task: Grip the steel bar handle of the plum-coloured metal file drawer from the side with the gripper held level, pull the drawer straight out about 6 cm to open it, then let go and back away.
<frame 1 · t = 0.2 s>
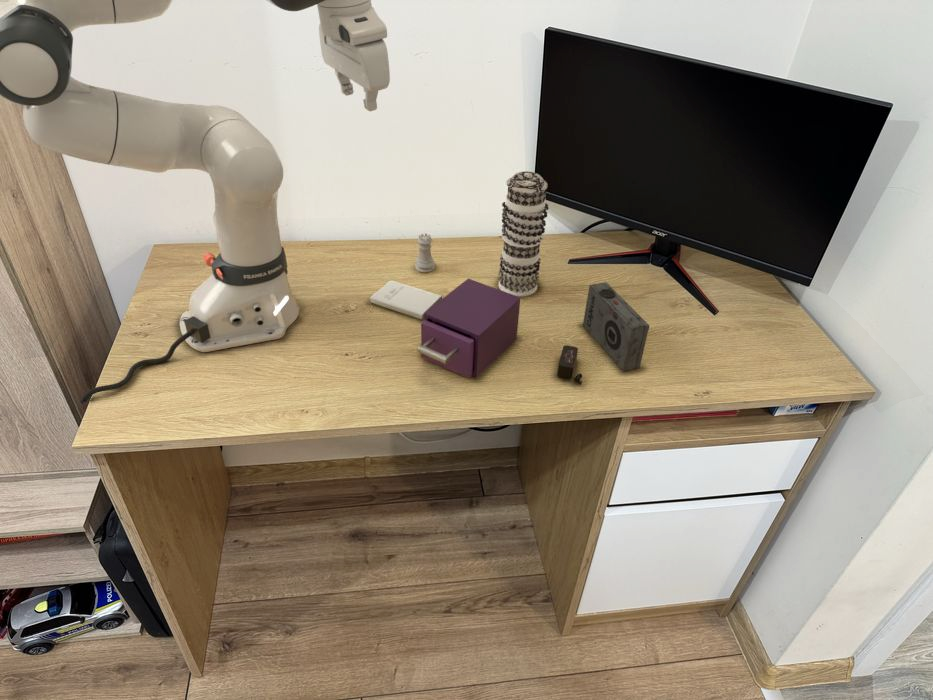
hand: (359, 101, 125), 39 cm above the table, tool pointing down, fingers open, 8 cm apart
decorative candle: (517, 286, 151), on the table
file cabinet: (471, 347, 133), on the table
drawer: (459, 338, 127), point 5 cm above the table, slide at 0.5 cm
rook chess piece: (424, 269, 156), on the table
wireless earbuds: (569, 374, 128), on the table
hard drive: (406, 303, 145), on the table
camera: (608, 346, 135), on the table
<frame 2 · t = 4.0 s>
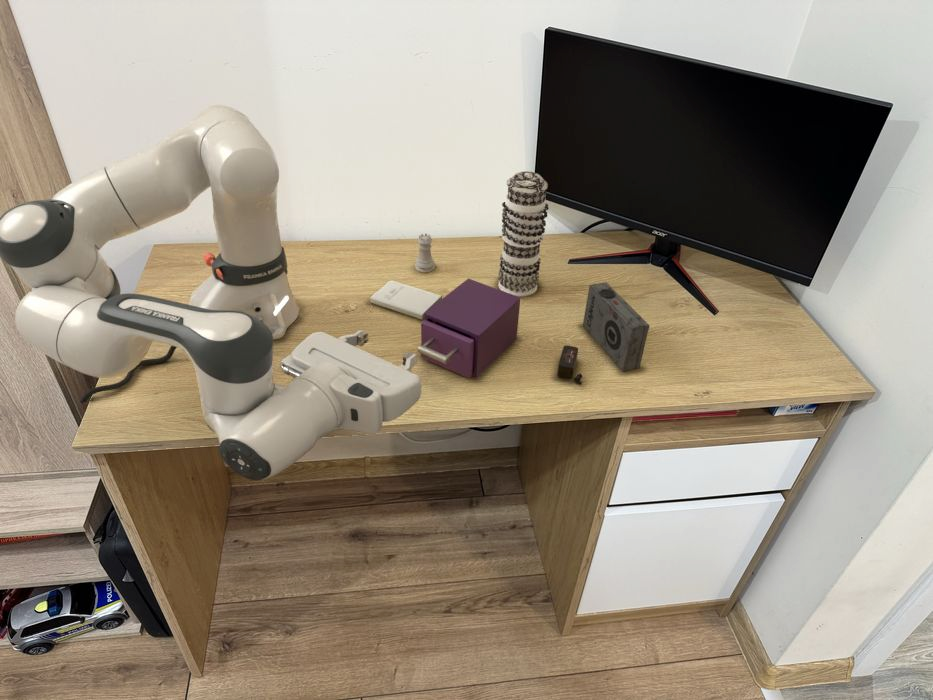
hand: (388, 345, 107), 15 cm above the table, tool horizontal, fingers open, 8 cm apart
nothing on the table moved.
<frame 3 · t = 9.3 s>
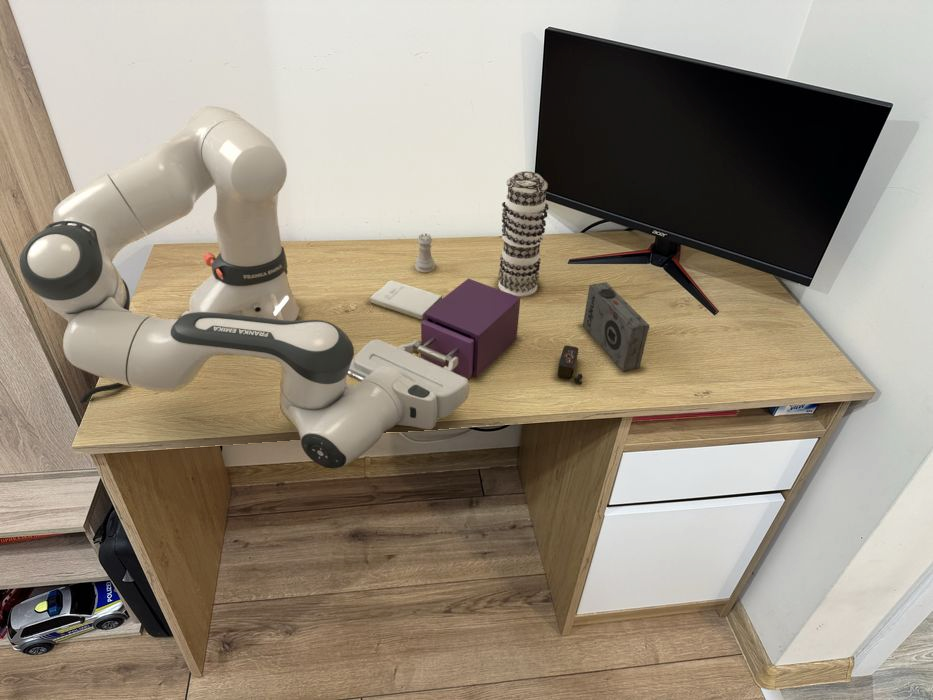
hand: (437, 351, 122), 6 cm above the table, tool horizontal, fingers closed on drawer, 6 cm apart
drawer: (459, 338, 127), point 5 cm above the table, slide at 0.5 cm, touching gripper
everything else where it was.
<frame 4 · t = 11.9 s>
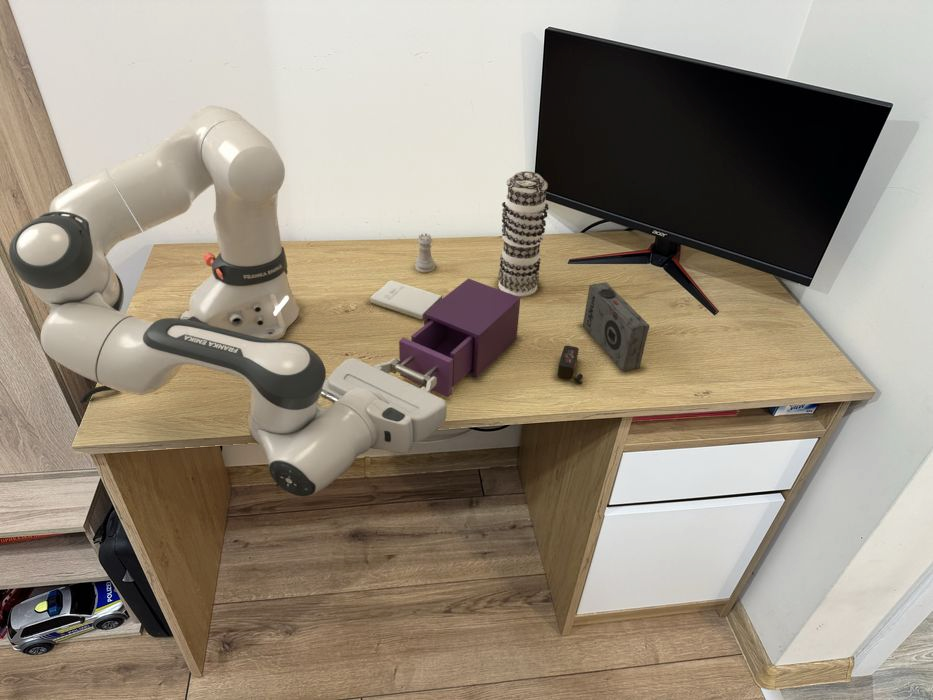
hand: (415, 370, 117), 6 cm above the table, tool horizontal, fingers closed on drawer, 6 cm apart
drawer: (439, 355, 123), point 5 cm above the table, slide at 6.9 cm, touching gripper
everything else where it was.
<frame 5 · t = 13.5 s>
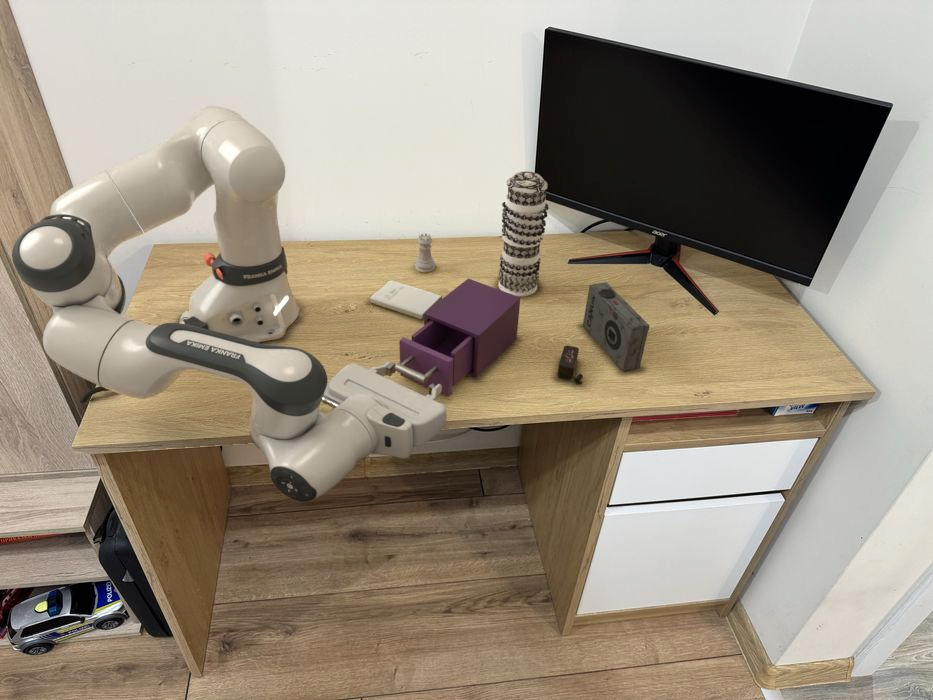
hand: (415, 375, 118), 5 cm above the table, tool horizontal, fingers open, 8 cm apart
drawer: (439, 355, 123), point 5 cm above the table, slide at 6.9 cm
everything else where it was.
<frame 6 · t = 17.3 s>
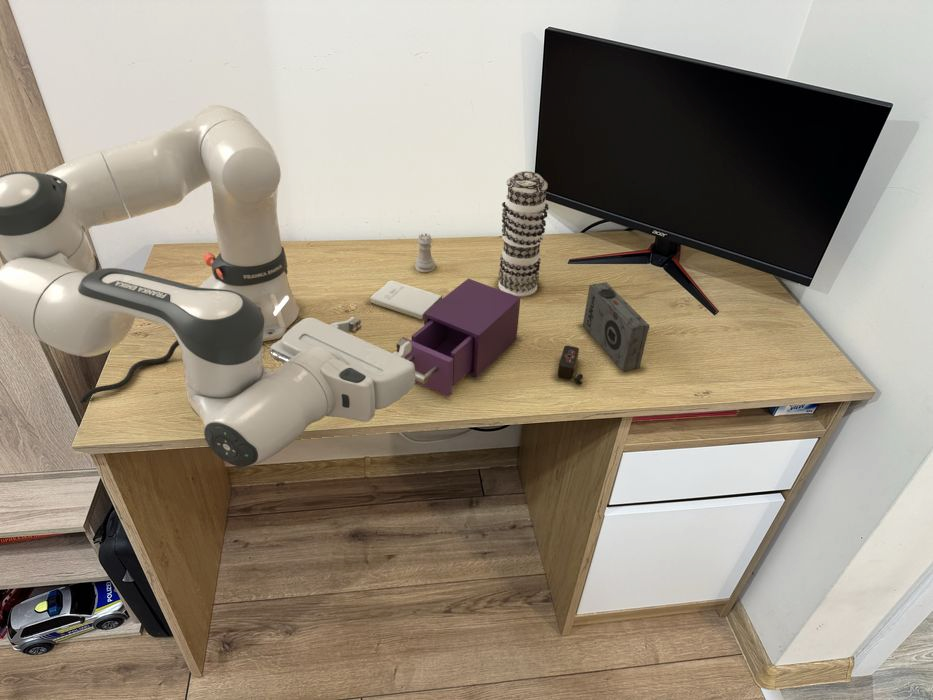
hand: (382, 333, 104), 19 cm above the table, tool horizontal, fingers open, 8 cm apart
nothing on the table moved.
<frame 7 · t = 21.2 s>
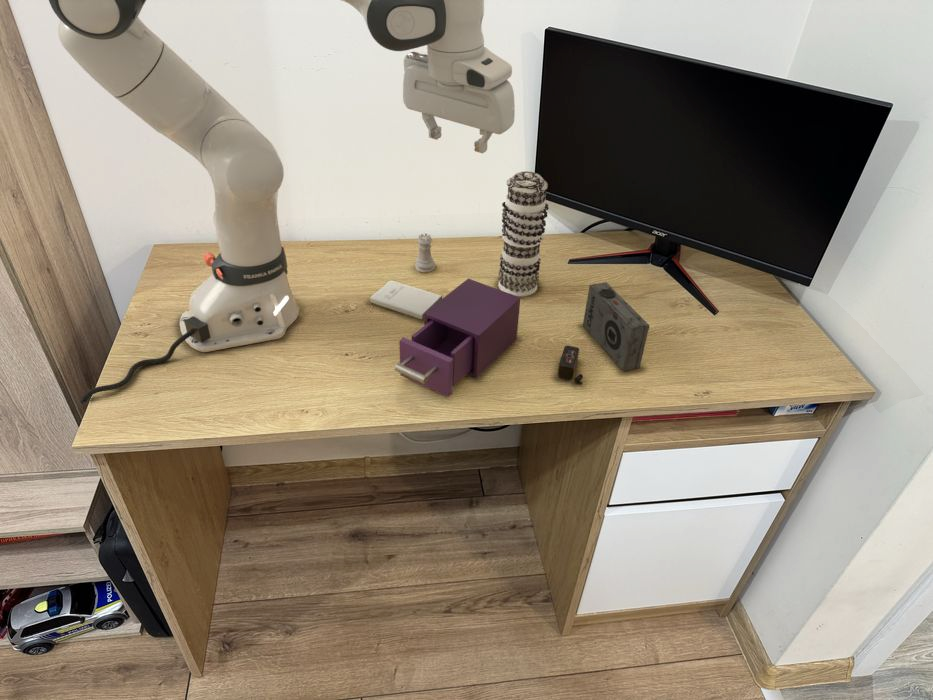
hand: (457, 144, 119), 36 cm above the table, tool pointing down, fingers open, 8 cm apart
nothing on the table moved.
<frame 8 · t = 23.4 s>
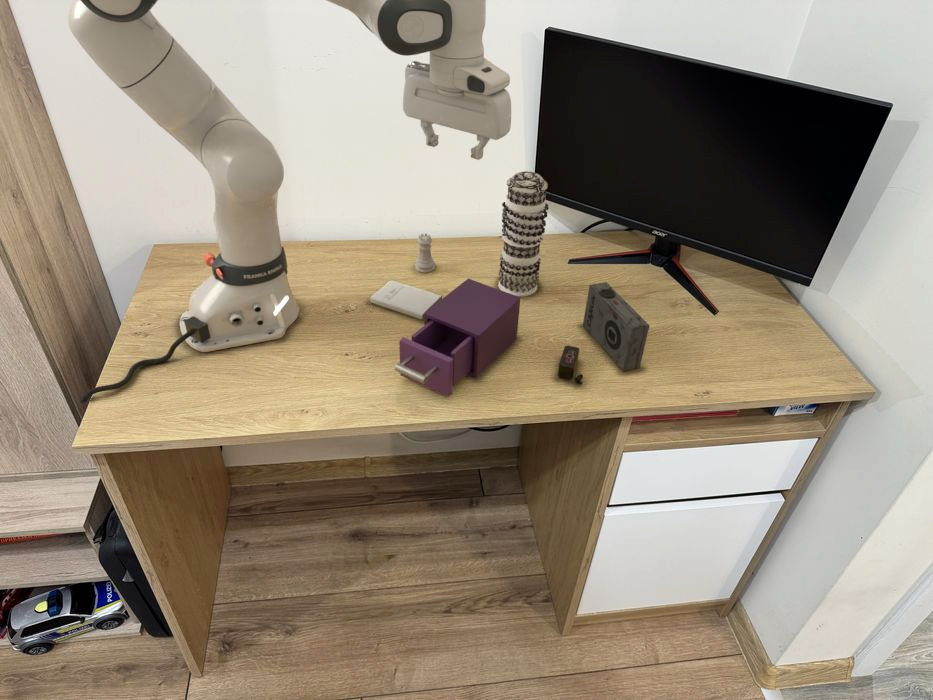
hand: (454, 151, 123), 33 cm above the table, tool pointing down, fingers open, 8 cm apart
nothing on the table moved.
at the end: drawer slide at 6.9 cm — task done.
